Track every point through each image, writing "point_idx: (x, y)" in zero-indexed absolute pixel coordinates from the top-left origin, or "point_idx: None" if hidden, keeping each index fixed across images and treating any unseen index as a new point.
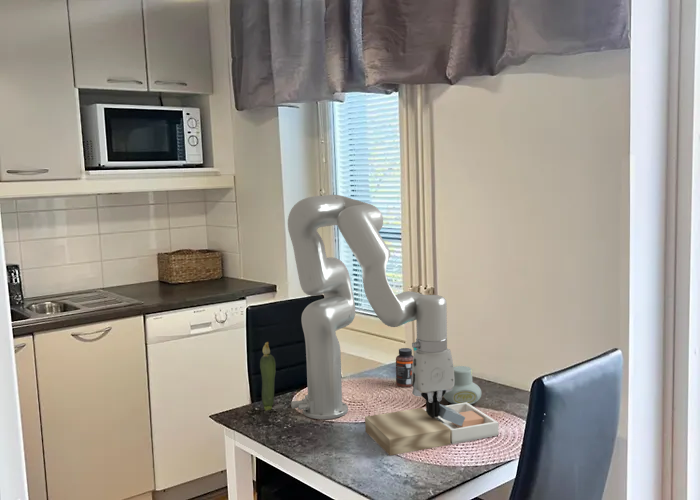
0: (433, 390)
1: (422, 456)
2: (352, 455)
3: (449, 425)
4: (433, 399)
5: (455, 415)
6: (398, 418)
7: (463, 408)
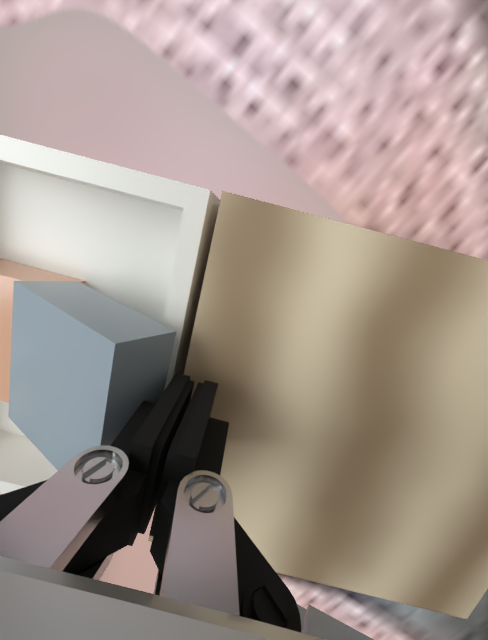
0: (173, 632)
1: (451, 179)
2: None
3: None
4: (138, 509)
5: (70, 305)
6: (355, 511)
7: None
